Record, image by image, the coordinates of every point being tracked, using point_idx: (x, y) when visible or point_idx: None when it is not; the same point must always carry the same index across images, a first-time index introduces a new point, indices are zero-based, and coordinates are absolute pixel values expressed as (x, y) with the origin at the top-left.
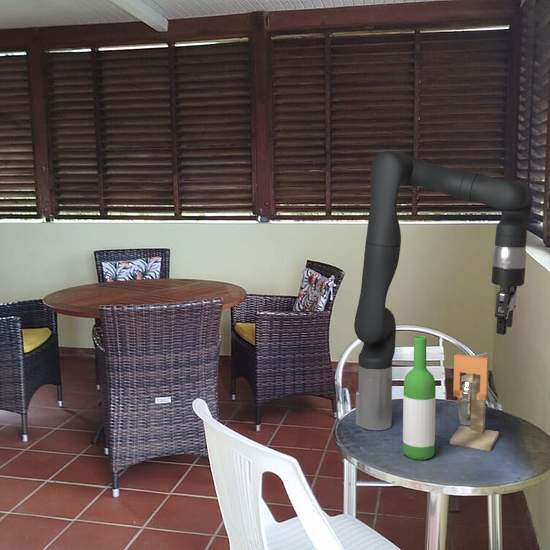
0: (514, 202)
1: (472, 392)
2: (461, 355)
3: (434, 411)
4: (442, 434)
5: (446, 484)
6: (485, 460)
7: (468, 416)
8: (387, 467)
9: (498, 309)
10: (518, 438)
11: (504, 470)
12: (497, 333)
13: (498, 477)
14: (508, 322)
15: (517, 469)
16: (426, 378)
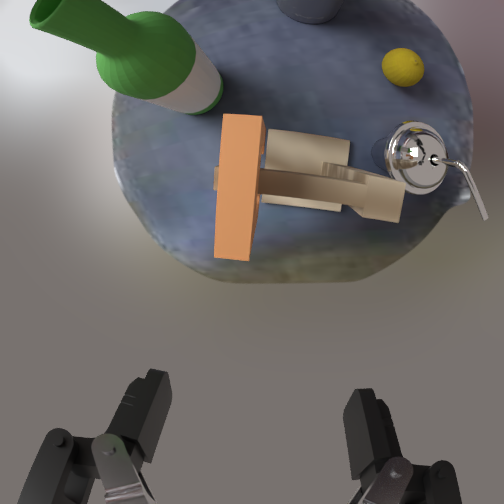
0: None
1: (341, 169)
2: (243, 143)
3: (162, 104)
4: (311, 110)
5: (114, 159)
6: None
7: (376, 155)
8: None
9: (107, 489)
10: (337, 242)
11: (192, 229)
12: (151, 371)
13: (164, 223)
14: (351, 423)
15: (204, 247)
16: (102, 75)
